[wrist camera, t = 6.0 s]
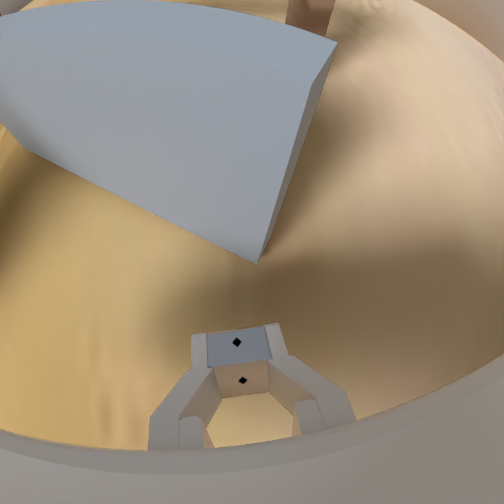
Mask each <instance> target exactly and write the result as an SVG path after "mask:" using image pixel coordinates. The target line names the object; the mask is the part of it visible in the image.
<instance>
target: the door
mask: <svg viewBox="0 0 504 504" xmlns="http://www.w3.org/2000/svg"><path fill="white" fill-rule="evenodd" d="M337 44H338V42H335V41H333V40H330V39H328V38H325V37H322V36H320V35H317V34H314V33H311V32H308V31H306V30H303V29H300V28H297V27H293V26H290V25H287V24H284V23H280V22H277V21H273V20H270V19H266V18H262V17H258V16H254V15H250V14H245V13H241V12H236V11H231V10H226V9H221V8H215V7H209V6H202V5H195V4H187V3H177V2H166V1H149V0H102V1H86V2H75V3H66V4H59V5H52V6H46V7H40V8H35V9H29V10H25V11H20V12H16V13H12V14H8V15H4V16H0V122H1V123H2V124H3V125H4V126H5V127H6V129H7V130H8V131H9V132H10V133H11V134H12V135H13V136H14V138H15V139H16V140H17V141H18V142H19V143H20V144H21V145H22V146H23V147H24V148H25V149H27V150H29V151H31V152H33V153H35V154H36V155H38V156H40V157H42V158H44V159H46V160H48V161H50V162H52V163H54V164H56V165H58V166H60V167H62V168H64V169H66V170H68V171H70V172H71V173H73V174H75V175H77V176H79V177H81V178H83V179H85V180H87V181H89V182H91V183H93V184H95V185H97V186H99V187H101V188H103V189H105V190H107V191H109V192H111V193H113V194H115V195H117V196H119V197H121V198H123V199H125V200H127V201H129V202H131V203H133V204H135V205H137V206H139V207H141V208H143V209H145V210H147V211H149V212H151V213H153V214H155V215H157V216H159V217H161V218H163V219H165V220H167V221H169V222H171V223H173V224H175V225H177V226H179V227H181V228H183V229H185V230H187V231H189V232H191V233H193V234H195V235H197V236H199V237H201V238H203V239H205V240H207V241H209V242H211V243H213V244H215V245H217V246H219V247H221V248H223V249H225V250H227V251H229V252H231V253H233V254H235V255H237V256H239V257H241V258H243V259H245V260H248V261H250V262H252V263H254V264H256V265H257V263H258V261H259V259H260V257H261V255H262V253H263V251H264V249H265V247H266V245H267V243H268V241H269V239H270V237H271V234H272V231H273V228H274V226H275V223H276V220H277V217H278V214H279V212H280V209H281V206H282V203H283V200H284V198H285V195H286V192H287V189H288V186H289V183H290V181H291V178H292V175H293V172H294V169H295V166H296V164H297V161H298V158H299V155H300V152H301V149H302V146H303V144H304V141H305V138H306V135H307V132H308V129H309V126H310V123H311V120H312V118H313V115H314V112H315V109H316V106H317V103H318V100H319V97H320V94H321V91H322V88H323V86H324V83H325V80H326V77H327V74H328V71H329V68H330V65H331V62H332V59H333V56H334V53H335V50H336V47H337Z"/></svg>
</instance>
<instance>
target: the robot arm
mask: <svg viewBox="0 0 504 504" xmlns="http://www.w3.org/2000/svg"><path fill="white" fill-rule="evenodd" d="M266 392H270V394H271V395H272V396H273V397H274V398H275V399H276V400H277V401H278V402H279V403H281V404H282V405H283V406H284V407H285V408H286V409H287V410H288V411H289V412H290V413H291V414H292V415H293V416H294V418H293V429H292V437H289V438H283V439H278V440H272V441H266V442H260V443H254V444H246V445H239V446H230V447H220V448H215V447H214V445H213V443H212V441H211V439H210V436H209V434H208V432H207V430H206V428H207V426H208V424H209V422H210V421H211V419H212V417H213V415H214V413H215V411H216V410H217V408H218V406H219V404H220V402H221V399H223V398H230V397H237V396H243V395H251V394H258V393H266ZM0 504H504V354H503V355H501V356H499V357H498V358H496V359H494V360H493V361H491V362H489V363H488V364H486V365H484V366H482V367H481V368H479V369H477V370H475V371H473V372H472V373H470V374H468V375H466V376H464V377H462V378H460V379H458V380H456V381H454V382H452V383H450V384H448V385H446V386H444V387H442V388H440V389H438V390H435V391H433V392H431V393H429V394H426V395H424V396H422V397H419V398H417V399H415V400H412V401H410V402H407V403H405V404H402V405H400V406H397V407H394V408H392V409H389V410H386V411H383V412H381V413H378V414H375V415H372V416H369V417H366V418H363V419H359V420H356V417H355V415H354V412H353V410H352V408H351V405H350V403H349V400H348V398H347V396H346V393H345V391H344V390H343V389H342V388H340V387H339V386H337V385H336V384H334V383H333V382H331V381H330V380H328V379H327V378H325V377H324V376H322V375H321V374H319V373H318V372H316V371H315V370H314V369H312V368H311V367H309V366H308V365H306V364H305V363H303V362H302V361H301V360H299V359H298V358H296V357H295V356H289V354H288V351H287V348H286V344H285V341H284V338H283V335H282V332H281V329H280V326H279V324H278V322H276V323H271V324H265V325H259V326H253V327H246V328H240V329H234V330H224V331H215V332H207V333H197V334H192V337H191V370H187V371H186V372H185V373H184V375H183V376H182V377H181V379H180V380H179V381H178V382H177V384H176V385H175V386H174V387H173V389H172V390H171V391H170V393H169V394H168V395H167V396H166V398H165V399H164V400H163V401H162V403H161V404H160V405H159V406H158V408H157V409H156V410H155V411H154V413H153V414H152V415H151V416H150V424H149V440H148V450H124V449H109V448H98V447H88V446H80V445H73V444H66V443H60V442H54V441H49V440H44V439H39V438H34V437H30V436H25V435H21V434H17V433H13V432H9V431H6V430H2V429H0Z"/></svg>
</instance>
